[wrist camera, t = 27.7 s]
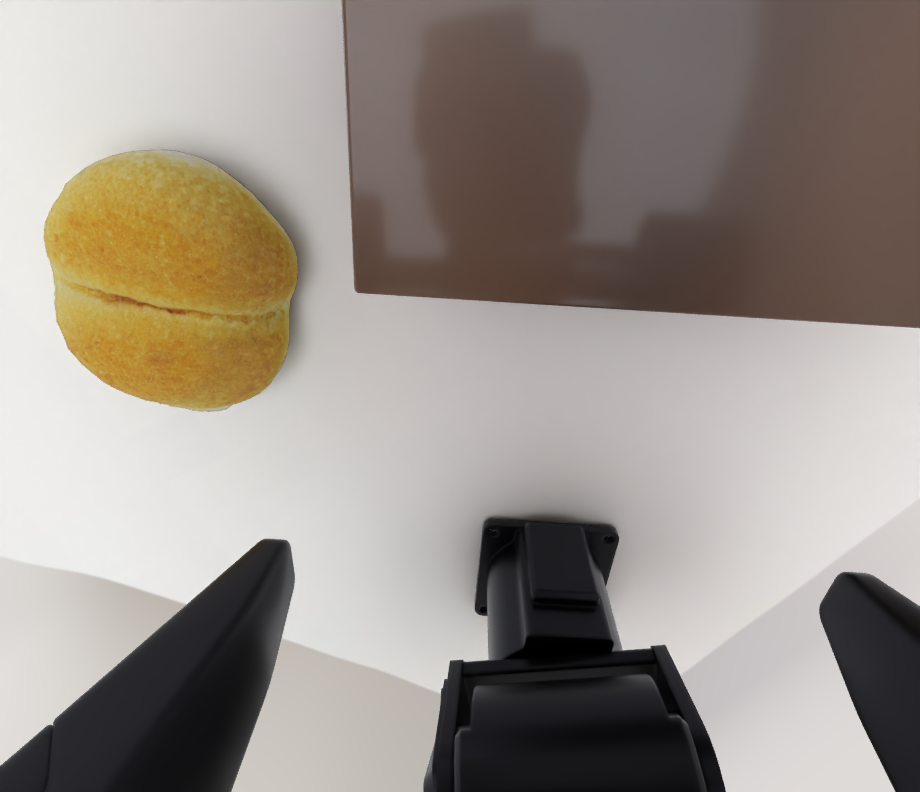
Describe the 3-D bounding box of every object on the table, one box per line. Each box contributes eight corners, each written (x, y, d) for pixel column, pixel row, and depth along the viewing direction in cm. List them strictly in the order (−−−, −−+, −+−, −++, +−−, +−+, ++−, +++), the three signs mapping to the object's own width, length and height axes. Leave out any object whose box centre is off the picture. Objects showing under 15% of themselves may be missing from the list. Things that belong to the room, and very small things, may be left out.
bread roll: (314, 183, 18) (277, 204, 14) (288, 400, 22) (254, 456, 19) (61, 110, 17) (-44, 115, 14) (84, 352, 21) (9, 402, 18)
